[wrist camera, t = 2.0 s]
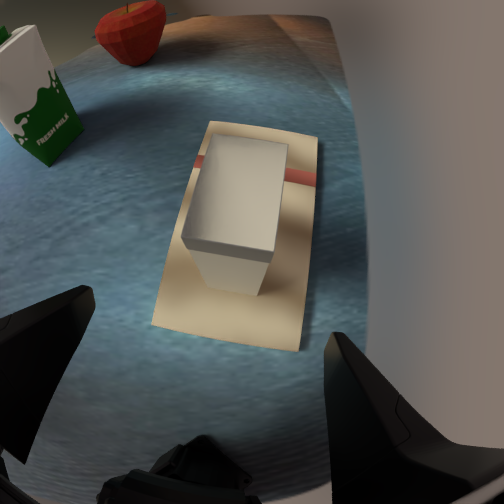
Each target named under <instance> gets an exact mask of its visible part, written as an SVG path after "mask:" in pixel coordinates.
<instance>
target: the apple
mask: <svg viewBox="0 0 504 504" xmlns="http://www.w3.org/2000/svg"><path fill="white" fill-rule="evenodd" d="M165 22H166V12H165V7H164V5H162V4H161V3H159V2H157V1H143V2H139V3H134V4H131V5H128V3H127V5H126V6H124V7H122V8H119V9H117V10H115V11H112V12H110V13H108V14H106V15H105V16H104V17H103V18H102V19H101V20H100V22H99V24H98V25H97V27H96V29H95V35H96V39H97V41H98V42H99V43H100V44H101V45H102V46H103V47H104V48H105V49H106V50H107V51H108V52H109V53H110V54H111V55H112V56H113V57H114V58H115V59H117V60H118V61H119V62H120V63H121V64H125V65H130V66H137V65H141V64H143V63H146V62H147V61H148V60H149V59H150V58H151V57H152V56H153V54H154V53H155V52H156V51H157V49H158V46H159V42H160V39H161V36H162V32H163V29H164V25H165Z"/></svg>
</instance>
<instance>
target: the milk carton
mask: <svg viewBox="0 0 504 504" xmlns="http://www.w3.org/2000/svg"><path fill="white" fill-rule="evenodd" d="M0 122H1V123H2V124H3V126H4V127H5V128H6V130H7V131H8V132H9V133H10V135H11V136H12V137H13V138H14V139H15V140H16V141H17V142H18V143H19V144H20V145H21V146H22V147H23V148H24V149H26V150H27V151H28V152H30V153H31V154H32V155H33V156H35V157H36V158H37V159H39V160H40V161H41V162H43V163H44V164H45V165H47V166H48V167H50V166H51V164H52V163H53V162H54V161H55V160H56V159H57V158H58V156H59V155H60V154H61V153H62V152H63V151H64V150H65V149H66V148H67V147H68V146H69V145H70V143H71V142H72V141H73V140H74V139H75V138H76V137H77V136H78V135H79V134H80V133H81V132H82V131H83V130H84V128H83V126H82V124H81V122H80V120H79V118H78V116H77V114H76V112H75V110H74V108H73V106H72V104H71V102H70V100H69V98H68V96H67V94H66V92H65V90H64V88H63V86H62V84H61V82H60V80H59V78H58V76H57V74H56V72H55V70H54V67H53V65H52V63H51V61H50V59H49V57H48V55H47V53H46V51H45V49H44V46H43V44H42V41H41V38H40V36H39V33H38V30H37V27H36V25H32V26H30V25H27V26H25V27H21V28H18V29H16V30H15V31H14V32H12V33H11V34H9V35H8V32H7V30H6V28H5V26H1V27H0Z"/></svg>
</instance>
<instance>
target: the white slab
mask: <svg viewBox="0 0 504 504" xmlns="http://www.w3.org/2000/svg"><path fill="white" fill-rule="evenodd" d="M288 146H289V144H284V143H279V142H273V141H267V140H260V139H254V138H247V137H240V136H232V135H223V134H214V133H212V136H211V139H210V142H209V145H208V148H207V150H206V153H205V156H204V160H203V163H202V166H201V169H200V172H199V175H198V178H197V181H196V185H195V188H194V191H193V195H192V198H191V201H190V205H189V208H188V212H187V215H186V219H185V222H184V226H183V229H182V233H181V239H182V241H183V243H184V245H185V247H186V249H189V251H190V253H191V255H192V257H193V259H194V261H195V263H196V265H197V267H198V269H199V271H200V273H201V275H202V277H203V279H204V281H205V283H206V285H207V287H208V288H214V289H219V290H225V291H230V292H236V293H242V294H248V295H254V296H257V294H258V291H259V289H260V286H261V283H262V281H263V278H264V275H265V273H266V270H267V267H268V265H269V263H271V260H272V258H273V255H274V253H275V246H276V239H277V231H278V224H279V217H280V209H281V202H282V194H283V186H284V179H285V171H286V163H287V154H288Z"/></svg>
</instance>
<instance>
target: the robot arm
mask: <svg viewBox="0 0 504 504" xmlns="http://www.w3.org/2000/svg"><path fill="white" fill-rule="evenodd" d="M94 310H95V299H94V294H93V290H92V288H91V287H89V286H86V285H80V286H78V287H75V288H73V289H70V290H68V291H65V292H63V293H60V294H58V295H55V296H53V297H51V298H48V299H46V300H43V301H41V302H38V303H36V304H34V305H31V306H29V307H26V308H24V309H22V310H19V311H17V312H15V313H13V314H10V315H8V316H5V317H3V318H0V504H40V503H38V502H37V501H36V500H34V499H33V498H31V497H29V496H28V495H27V494H26V493H24V492H23V491H22V490H20V489H19V488H18V487H16V486H15V485H14V484H12V483H11V482H10V480H9V477H8V474H7V470H6V467H5V463H4V459H3V458H2V457H1V454H2V452H3V450H4V449H5V450H6V451H7V452H8V453H9V454H11V455H12V456H13V457H15V458H16V459H17V460H19V461H20V462H21V463H23V464H24V465H25V463H26V461H27V458H28V455H29V452H30V450H31V447H32V444H33V442H34V439H35V436H36V434H37V431H38V429H39V426H40V424H41V421H42V419H43V416H44V414H45V412H46V410H47V407H48V405H49V403H50V401H51V399H52V396H53V394H54V392H55V390H56V388H57V386H58V384H59V382H60V380H61V378H62V376H63V374H64V372H65V370H66V368H67V366H68V364H69V362H70V360H71V358H72V356H73V354H74V353H75V351H76V349H77V347H78V345H79V343H80V341H81V339H82V337H83V335H84V333H85V331H86V328H87V326H88V324H89V321H90V319H91V317H92V315H93V313H94ZM324 396H325V405H326V415H327V426H328V437H329V450H330V464H331V482H332V504H504V449H499V448H486V447H476V446H467V445H460V444H456V443H454V442H451V441H450V440H448V439H447V438H445V437H444V436H443V435H442V434H441V433H440V432H439V431H438V430H436V429H435V428H434V427H433V426H432V425H431V424H430V423H428V421H426V420H425V419H424V418H423V417H422V416H421V415H420V414H419V413H418V412H417V411H416V410H415V409H414V408H413V407H412V406H411V405H410V404H409V403H408V402H407V401H406V400H405V399H404V398H403V397H402V395H401V394H400V395H399V392H398V391H397V390H396V389H395V388H394V387H393V386H392V385H391V383H390V382H388V380H387V379H386V378H385V377H384V376H383V375H382V374H381V373H380V371H379V370H378V369H377V368H376V367H375V366H374V365H373V364H372V363H371V362H370V361H369V359H368V358H367V357H366V356H365V355H364V354H363V353H362V352H361V351H360V350H359V349H358V348H357V347H356V345H355V344H354V343H353V342H352V341H351V340H350V339H349V338H348V337H347V336H346V335H345V334H344V333H342V332H332V333H331V335H330V337H329V340H328V342H327V344H326V347H325V350H324ZM199 439H202V440H203V441H204V442H203V443H200V442H199V441H198V440H199ZM245 479H249V481H244V480H245ZM251 483H252V477H251V476H250V475H248V474H247V473H246V472H245V471H243V470H242V469H241V468H240V467H238V466H237V465H236V464H235V463H234V462H233V461H231V460H230V459H229V458H228V457H227V456H226V455H224V454H223V453H222V452H221V451H220V450H219V449H218V448H216V447H215V446H214V445H213V444H212V443H211V442H210V441H209V440H208V439H207V438H206V437H204V436H202V435H199V436H197V437H196V438H194V439H193V440H191V441H190V442H189V443H187V444H186V445H184V446H183V445H181V444H178V445H177V446H176V447H174V448H173V449H171V450H170V451H168V452H167V453H165V454H164V455H162V456H161V457H160V458H159V459H158V460H157V462H156V463H155V464H154V466H153V467H152V468H151V470H150V471H149V472H146V471H142V470H139V469H134V470H131V471H130V472H129V473H128V474H126V475H122V476H118V477H114V478H111V479H109V480H108V481H107V482H105V483H104V485H103V488H102V490H101V492H100V493H99V494H98V495H97V497H96V501H97V502H98V503H97V504H262V503H261V502H260V500H259V498H258V497H257V496H245V493H244V490H243V489H244V488H246V487H247V486H249V485H250V484H251Z"/></svg>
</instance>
